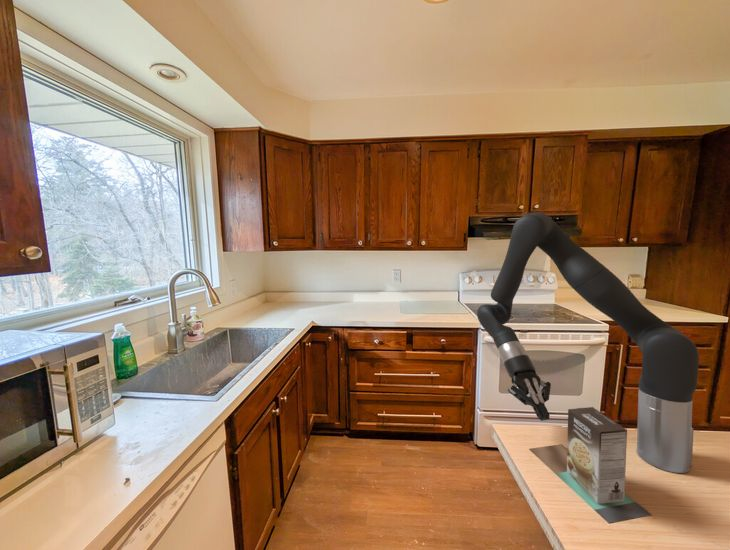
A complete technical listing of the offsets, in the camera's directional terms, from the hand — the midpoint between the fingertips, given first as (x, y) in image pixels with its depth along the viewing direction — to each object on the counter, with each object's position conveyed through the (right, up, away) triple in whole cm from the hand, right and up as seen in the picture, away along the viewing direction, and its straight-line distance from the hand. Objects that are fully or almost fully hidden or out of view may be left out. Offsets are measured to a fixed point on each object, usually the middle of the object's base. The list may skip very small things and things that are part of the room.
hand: (545, 419), depth 78 cm
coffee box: (+3, -9, -13) cm, 16 cm away
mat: (+2, -8, -10) cm, 13 cm away
